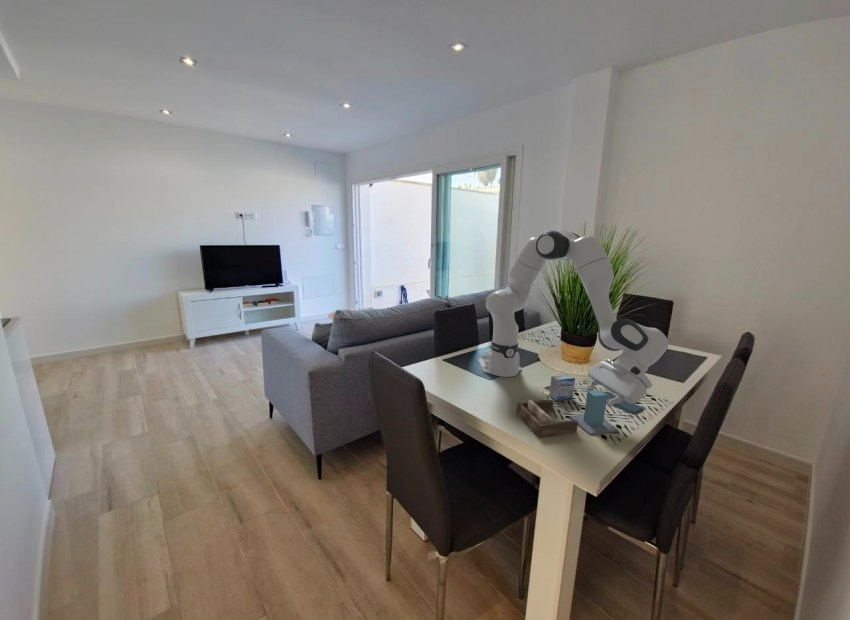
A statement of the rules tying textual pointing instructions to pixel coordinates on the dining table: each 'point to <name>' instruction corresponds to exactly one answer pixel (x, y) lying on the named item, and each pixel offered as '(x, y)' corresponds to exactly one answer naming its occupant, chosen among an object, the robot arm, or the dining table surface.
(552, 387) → the medicine box
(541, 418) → the offcut stack
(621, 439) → the dining table surface
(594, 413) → the teal rectangular block
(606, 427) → the grey mat
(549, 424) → the tray
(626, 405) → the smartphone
